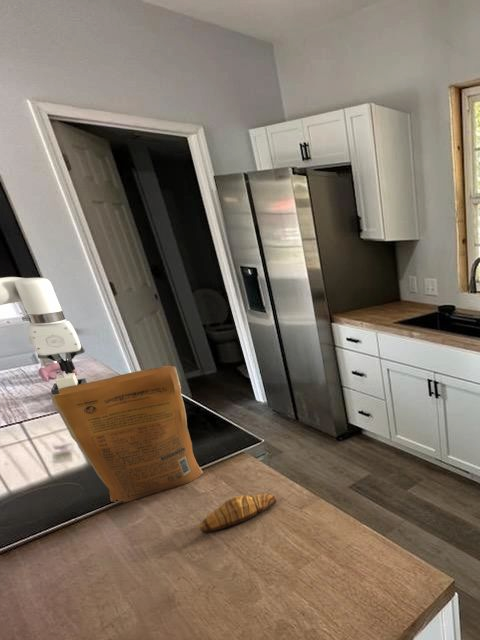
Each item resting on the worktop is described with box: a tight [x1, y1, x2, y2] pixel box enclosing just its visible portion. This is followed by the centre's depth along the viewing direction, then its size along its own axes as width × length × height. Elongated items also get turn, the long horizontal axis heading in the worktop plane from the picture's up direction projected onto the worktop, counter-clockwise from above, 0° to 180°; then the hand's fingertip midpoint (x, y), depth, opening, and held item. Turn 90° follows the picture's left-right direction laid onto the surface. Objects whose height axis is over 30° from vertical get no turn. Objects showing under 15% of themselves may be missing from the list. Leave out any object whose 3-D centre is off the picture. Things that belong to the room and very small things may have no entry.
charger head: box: [54, 372, 79, 389], centre depth 147 cm, size 4×6×6 cm
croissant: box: [199, 493, 277, 534], centre depth 83 cm, size 14×7×5 cm, turn 135°
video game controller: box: [38, 363, 79, 382], centre depth 162 cm, size 10×5×7 cm, turn 149°
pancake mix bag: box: [50, 365, 204, 503], centre depth 88 cm, size 7×19×28 cm, turn 131°
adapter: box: [50, 378, 88, 395], centre depth 148 cm, size 8×10×3 cm
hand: (69, 372), depth 137 cm, fingers closed
